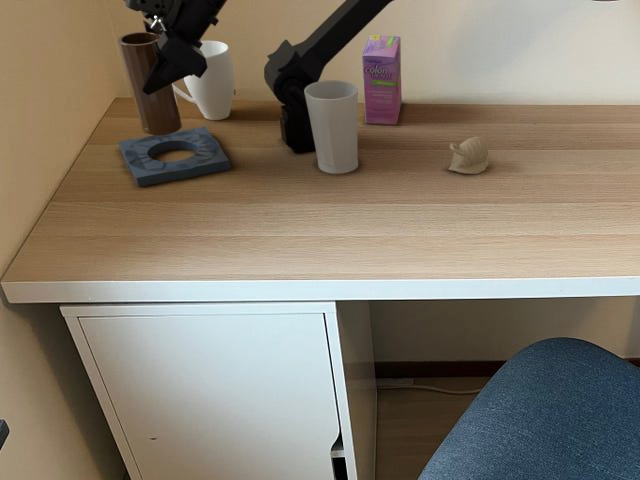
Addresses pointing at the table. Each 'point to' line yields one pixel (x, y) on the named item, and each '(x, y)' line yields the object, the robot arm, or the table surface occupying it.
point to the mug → (212, 82)
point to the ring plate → (159, 171)
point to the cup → (334, 124)
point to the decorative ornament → (470, 156)
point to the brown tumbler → (138, 59)
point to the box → (382, 79)
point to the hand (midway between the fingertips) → (141, 85)
